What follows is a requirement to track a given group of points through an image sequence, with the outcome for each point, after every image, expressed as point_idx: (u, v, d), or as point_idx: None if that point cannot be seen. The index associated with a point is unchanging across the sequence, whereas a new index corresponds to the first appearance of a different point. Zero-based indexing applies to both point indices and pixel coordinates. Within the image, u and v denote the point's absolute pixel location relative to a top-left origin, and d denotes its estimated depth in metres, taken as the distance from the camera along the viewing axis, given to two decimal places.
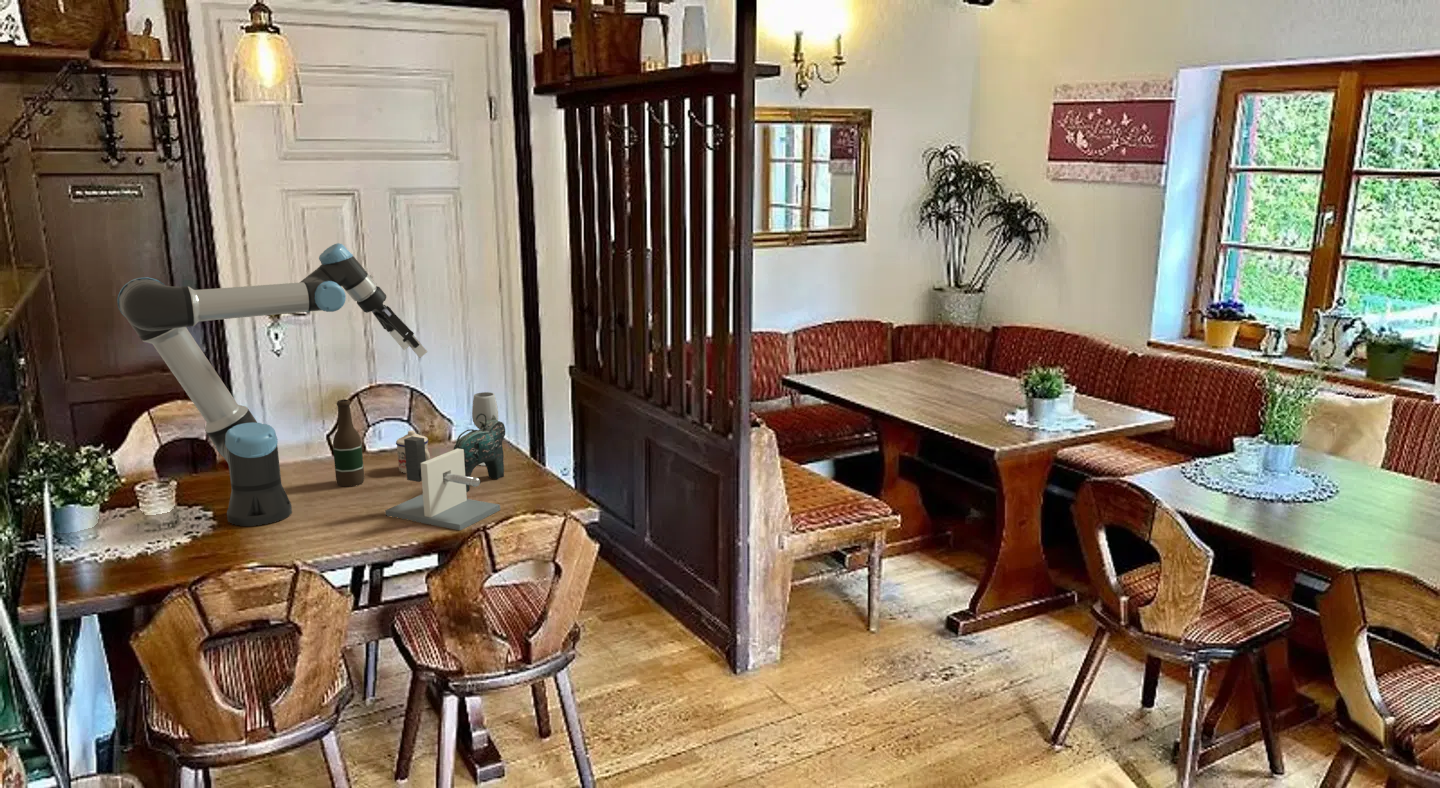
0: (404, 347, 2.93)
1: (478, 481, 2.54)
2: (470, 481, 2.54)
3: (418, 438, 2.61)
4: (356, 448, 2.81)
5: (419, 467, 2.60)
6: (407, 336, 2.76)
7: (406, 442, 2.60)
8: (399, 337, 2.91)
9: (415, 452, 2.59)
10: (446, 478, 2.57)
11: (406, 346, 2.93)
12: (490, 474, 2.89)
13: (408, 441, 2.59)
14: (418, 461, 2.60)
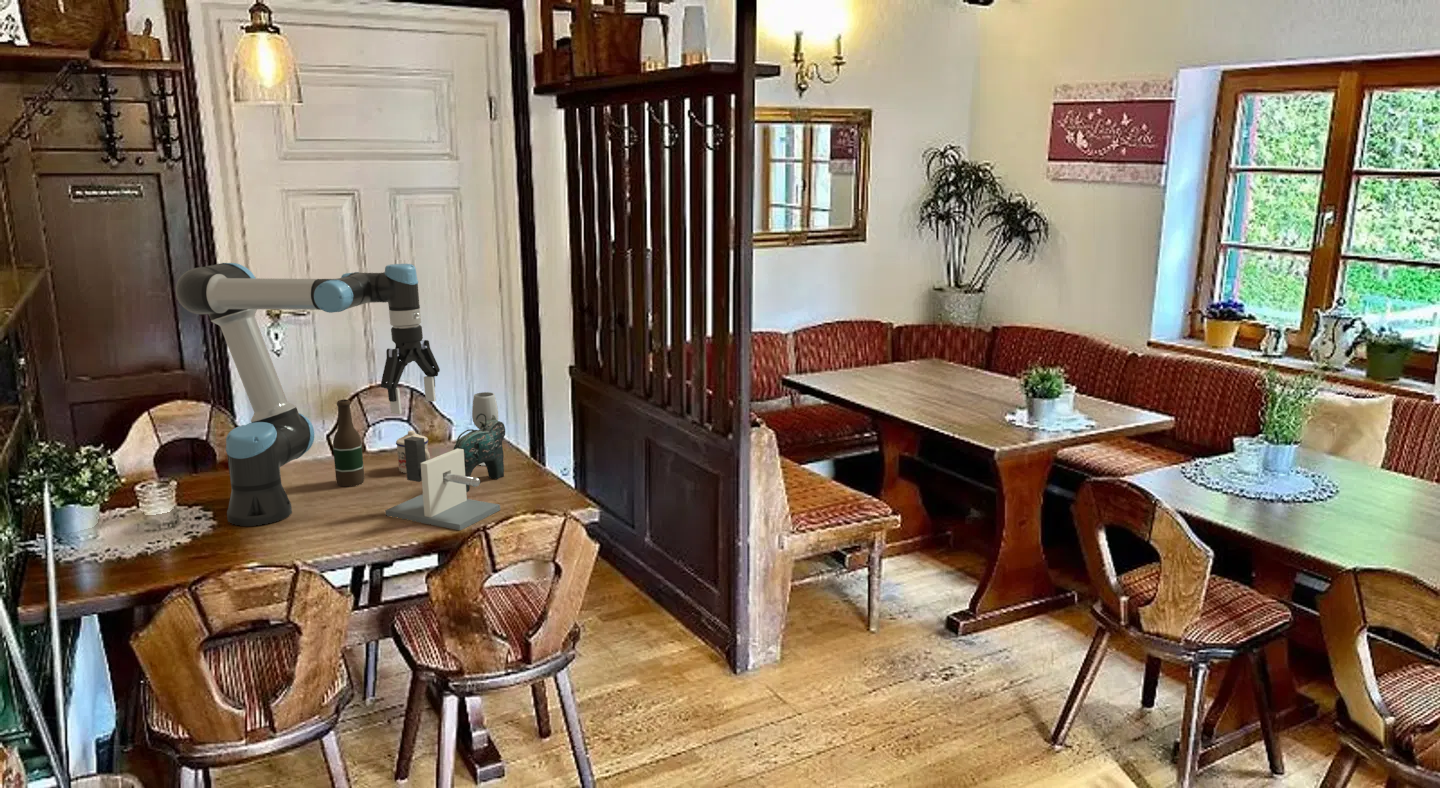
0: (427, 398, 2.66)
1: (478, 481, 2.54)
2: (470, 481, 2.54)
3: (418, 438, 2.61)
4: (356, 448, 2.81)
5: (419, 467, 2.60)
6: (382, 384, 2.50)
7: (406, 442, 2.60)
8: (428, 387, 2.65)
9: (415, 452, 2.59)
10: (446, 478, 2.57)
11: (429, 399, 2.66)
12: (490, 474, 2.89)
13: (408, 441, 2.59)
14: (418, 461, 2.60)
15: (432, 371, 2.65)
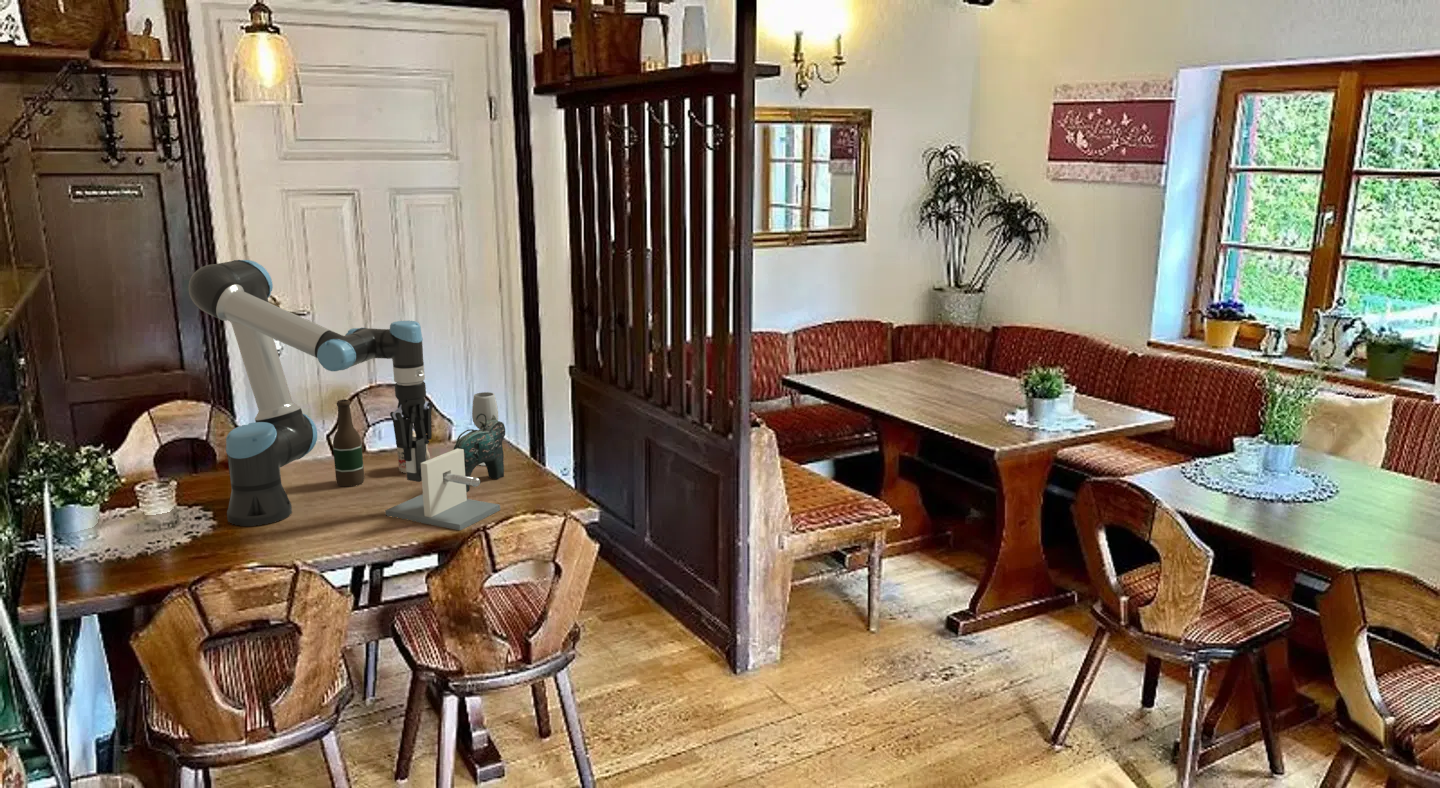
0: None
1: (478, 481, 2.54)
2: (470, 481, 2.54)
3: (418, 438, 2.61)
4: (356, 448, 2.81)
5: (419, 467, 2.60)
6: (398, 445, 2.56)
7: None
8: None
9: (415, 452, 2.59)
10: (446, 478, 2.57)
11: None
12: (490, 474, 2.89)
13: None
14: (418, 461, 2.60)
15: (424, 437, 2.62)
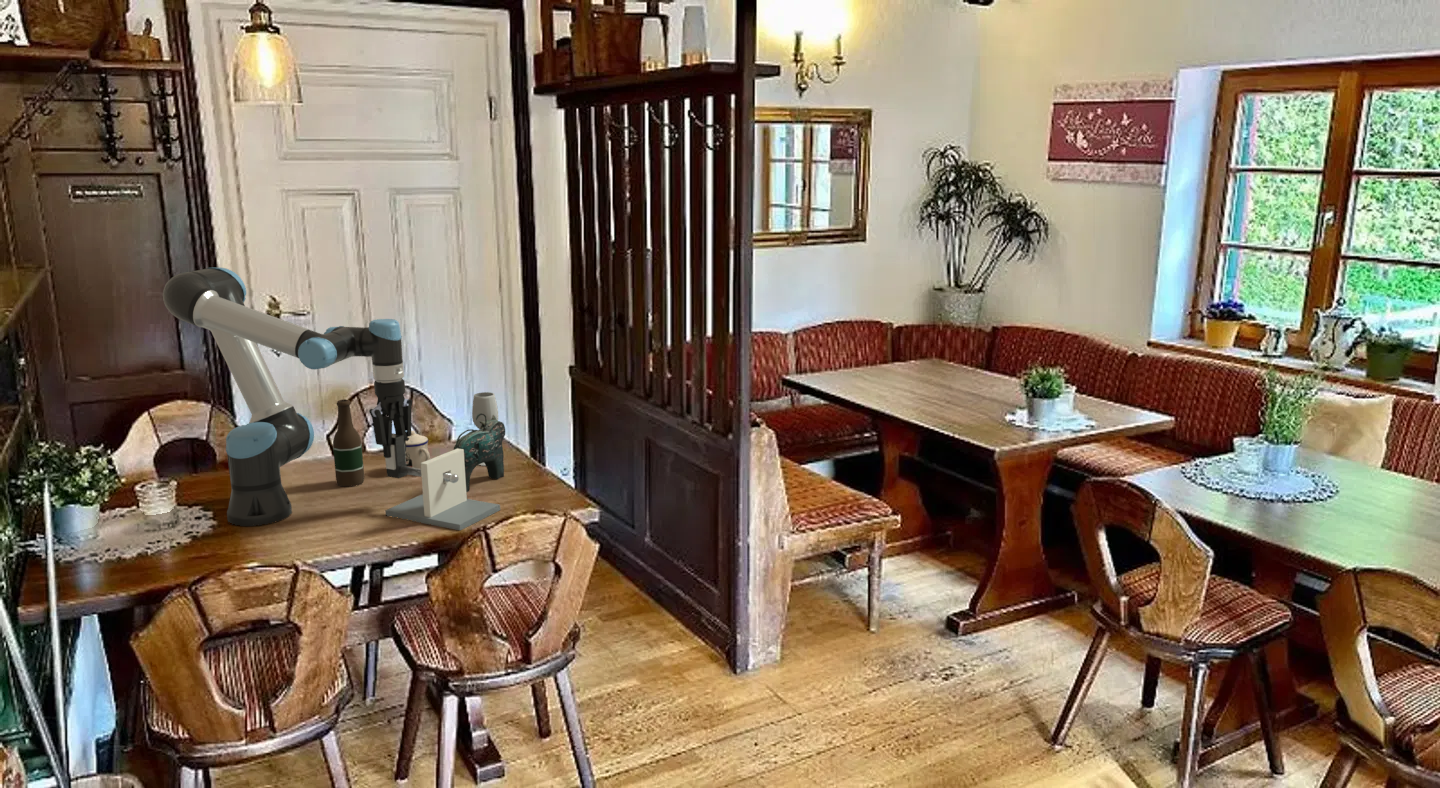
0: None
1: (456, 477, 2.57)
2: (448, 478, 2.57)
3: (398, 435, 2.64)
4: (356, 448, 2.81)
5: (398, 464, 2.63)
6: (377, 442, 2.59)
7: None
8: None
9: None
10: None
11: None
12: (490, 474, 2.89)
13: None
14: (398, 457, 2.63)
15: (404, 434, 2.65)
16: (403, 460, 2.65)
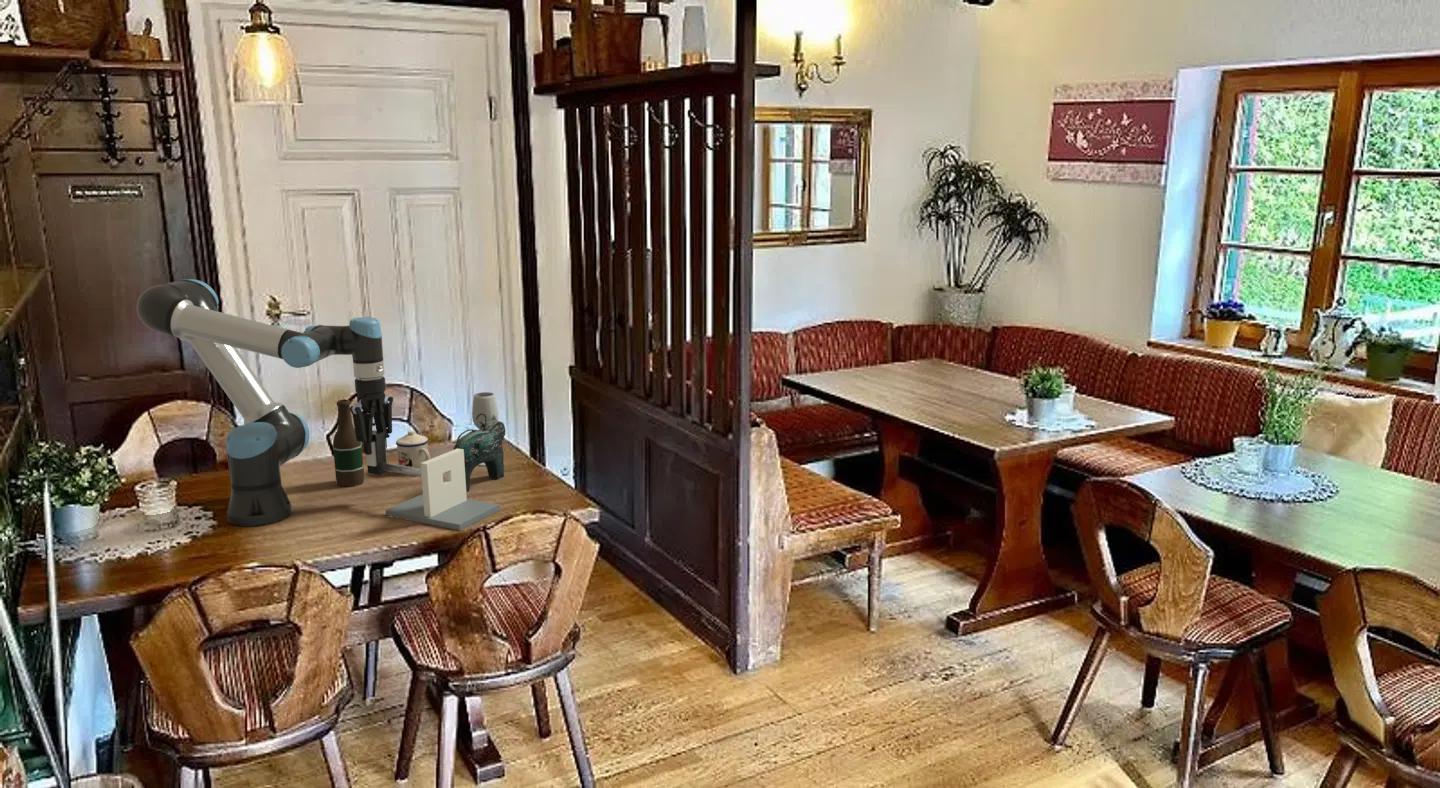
0: None
1: None
2: None
3: (378, 432, 2.66)
4: (356, 448, 2.81)
5: (379, 460, 2.66)
6: (358, 439, 2.62)
7: None
8: None
9: (375, 446, 2.65)
10: (405, 471, 2.63)
11: None
12: (490, 474, 2.89)
13: None
14: (378, 454, 2.66)
15: (385, 431, 2.68)
16: (384, 457, 2.67)
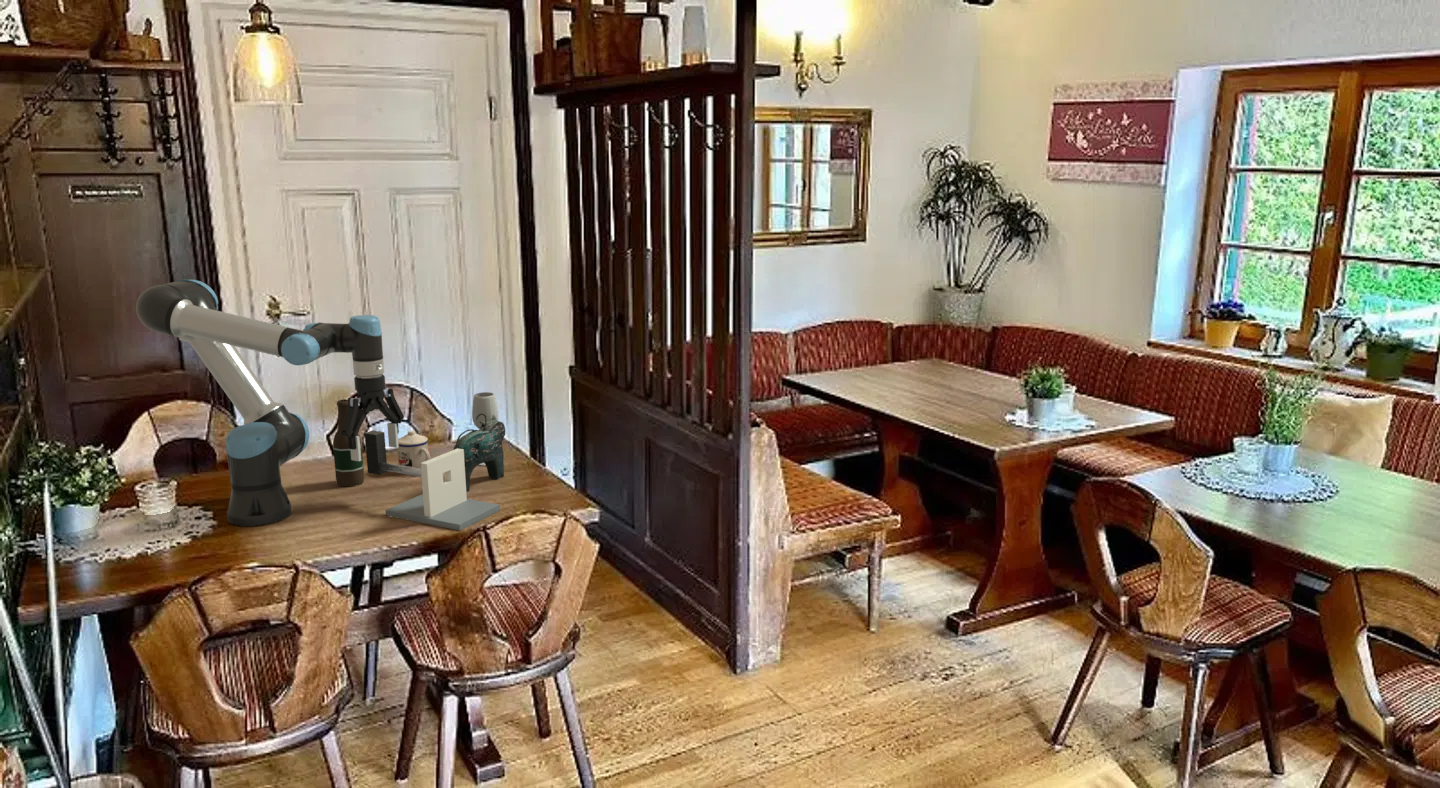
0: (390, 444, 2.73)
1: None
2: None
3: (378, 432, 2.66)
4: None
5: (379, 460, 2.66)
6: (342, 433, 2.57)
7: (366, 436, 2.66)
8: (391, 433, 2.72)
9: (375, 446, 2.65)
10: (405, 471, 2.63)
11: (392, 445, 2.73)
12: (490, 474, 2.89)
13: (368, 435, 2.65)
14: (378, 454, 2.66)
15: (395, 418, 2.71)
16: (384, 457, 2.67)
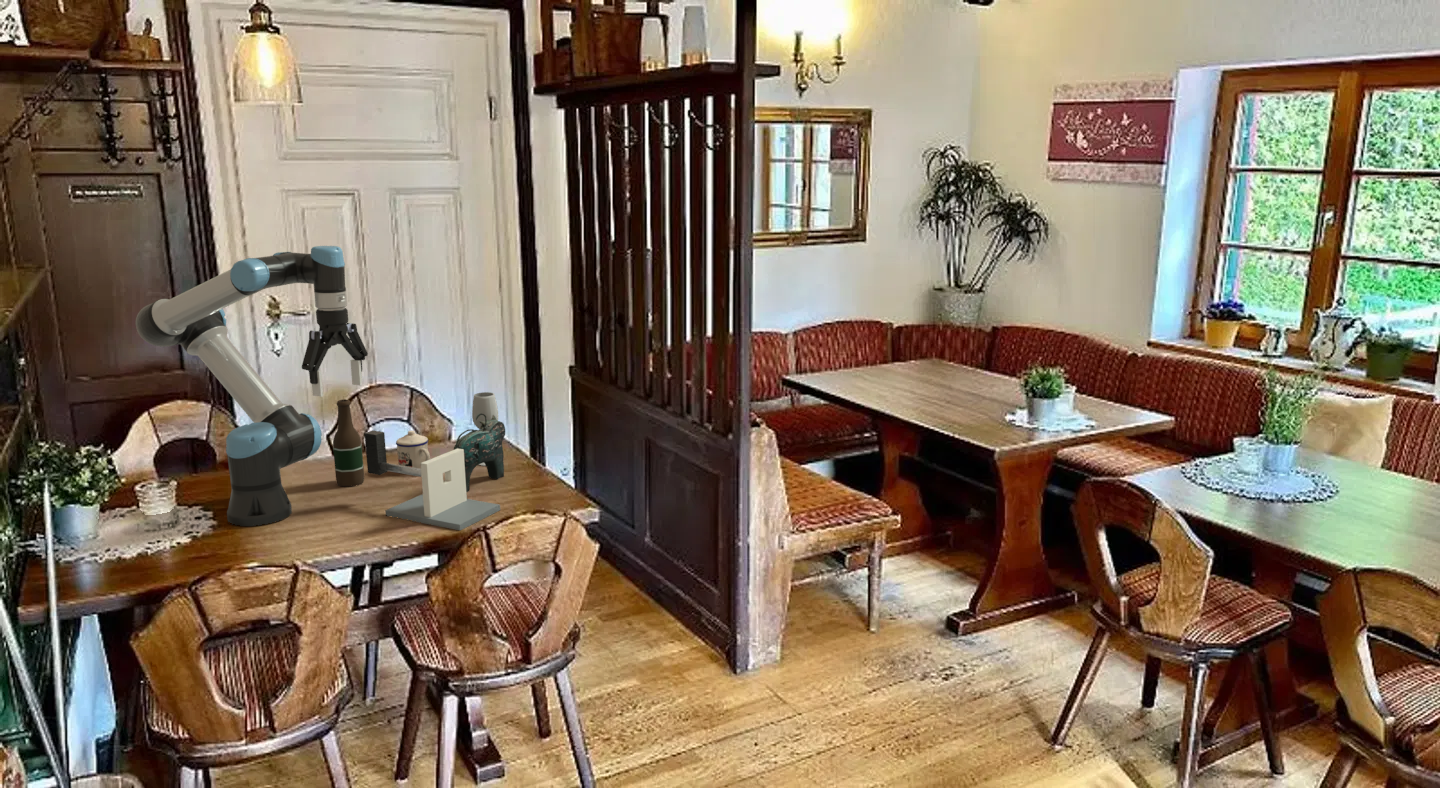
0: (353, 382, 2.65)
1: None
2: None
3: (378, 432, 2.66)
4: (356, 448, 2.81)
5: (379, 460, 2.66)
6: (303, 366, 2.49)
7: (366, 436, 2.66)
8: (354, 370, 2.64)
9: (375, 446, 2.65)
10: (405, 471, 2.63)
11: (355, 383, 2.65)
12: (490, 474, 2.89)
13: (368, 435, 2.65)
14: (378, 454, 2.66)
15: (359, 355, 2.63)
16: (384, 457, 2.67)
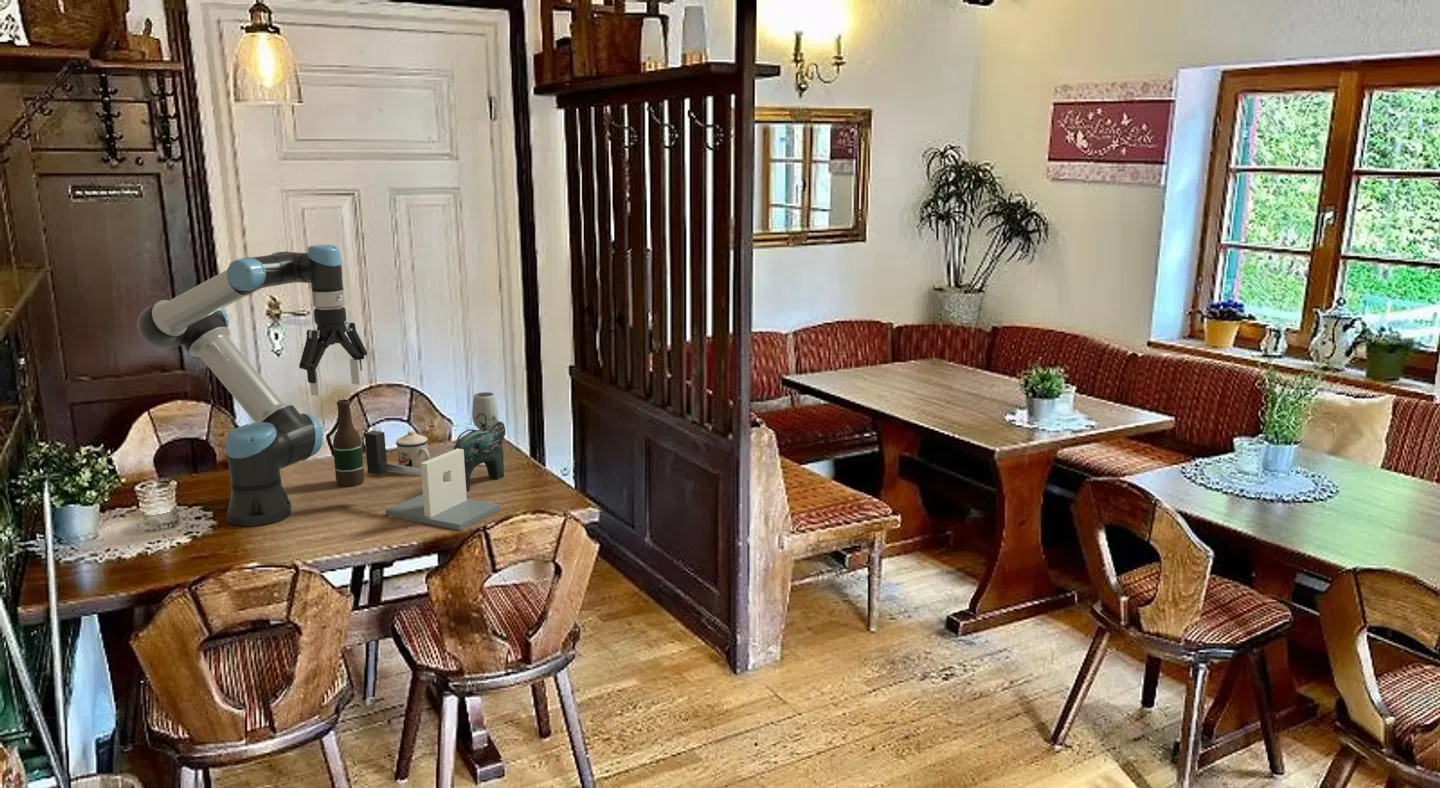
0: (353, 381, 2.65)
1: None
2: None
3: (378, 432, 2.66)
4: (356, 448, 2.81)
5: (379, 460, 2.66)
6: (301, 366, 2.48)
7: (366, 436, 2.66)
8: (354, 369, 2.64)
9: (375, 446, 2.65)
10: (405, 471, 2.63)
11: (354, 382, 2.64)
12: (490, 474, 2.89)
13: (368, 435, 2.65)
14: (378, 454, 2.66)
15: (358, 354, 2.63)
16: (384, 457, 2.67)
